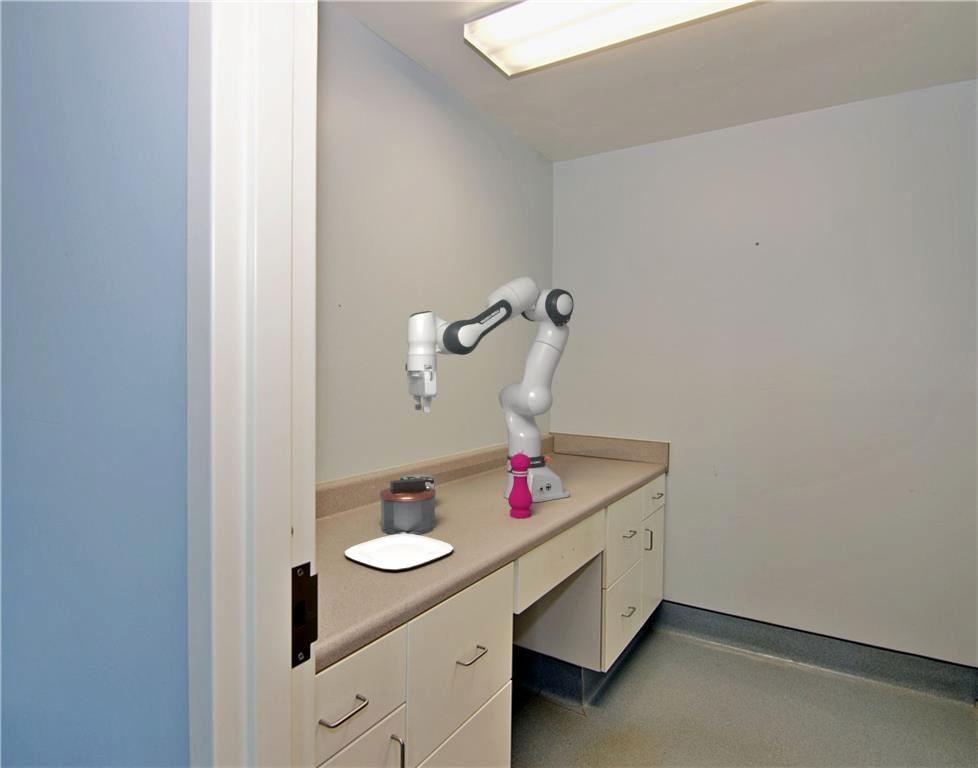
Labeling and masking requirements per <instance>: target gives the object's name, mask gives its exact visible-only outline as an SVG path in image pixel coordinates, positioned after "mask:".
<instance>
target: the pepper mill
mask: <svg viewBox="0 0 978 768" xmlns="http://www.w3.org/2000/svg"><path fill="white" fill-rule="evenodd" d="M517 453H518V454H516V455H514V456H513V457H512V458H511V461H510V465H511V467H512V468H513V470H512V475H513V478H514V482H513V487H512V490H511V492H510V495H509V499H508V498H507V499H508V500H507V501H508V505H509V507H510V509H509V516H510V517H511V518H514V519H527V518H528V519H529V518H530V517H531V516H532V510H531V507H532V506H533V503H534V502H533V500H532V495H531V493H530V490H529V488H528V484H527V476H528V475H529V474H528V472H529V471H528V468H529V467H530V459H529V457H528V456H527V455H524V454H523V450H522V449H518V451H517Z"/></svg>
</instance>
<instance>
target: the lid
mask: <svg viewBox="0 0 978 768" xmlns="http://www.w3.org/2000/svg"><path fill="white" fill-rule="evenodd" d="M389 484H390V487H388V488H385V489H382V490H381V491H380V492H379V497H380V500H381V499H382V500H385V501H390V502H418V501H424V500H428V499H431V498H433V497H436V495H437V494H436V489H435V488H434V489H433V488H430V486H425V480H424V479H423V478H419V479H407V480H399V479H398V480H394V479H393V480H390V483H389Z"/></svg>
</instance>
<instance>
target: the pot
mask: <svg viewBox="0 0 978 768" xmlns="http://www.w3.org/2000/svg"><path fill="white" fill-rule="evenodd" d="M435 497H436V496H435ZM435 497H433V498H431V499H428V500H424V501H418V502H390V501H385V500H382V499H381V498H380V500H381V501H380V508H381V509H380V510H381V514H380V515H381V516H380V519H381V520H380V521H381V523H380V524H381V525H380V527H381V529H382V530H381V531H382V532H383V533H384V534H386V535H388V536H389V535H395V534H415V535H420V536H422V535H425V534H428V533H430V532H432V531H433V530H434V529H435V525H436V521H435V520H436V519H435V517H436V516H435V515H436V514H435V513H436V506H435V505H436V499H435Z"/></svg>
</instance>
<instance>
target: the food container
mask: <svg viewBox="0 0 978 768" xmlns="http://www.w3.org/2000/svg"><path fill="white" fill-rule="evenodd" d="M419 478H423V479H424V480H425V486H430V488H433V489H435V488H436V487H435V485H437V484H438V482H437V478H436V476H435V475H431V474H422V473H420V474H419V473H418V474H417V473H415V474H408V475H401V476H399V478H398V480H407V479H419Z"/></svg>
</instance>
